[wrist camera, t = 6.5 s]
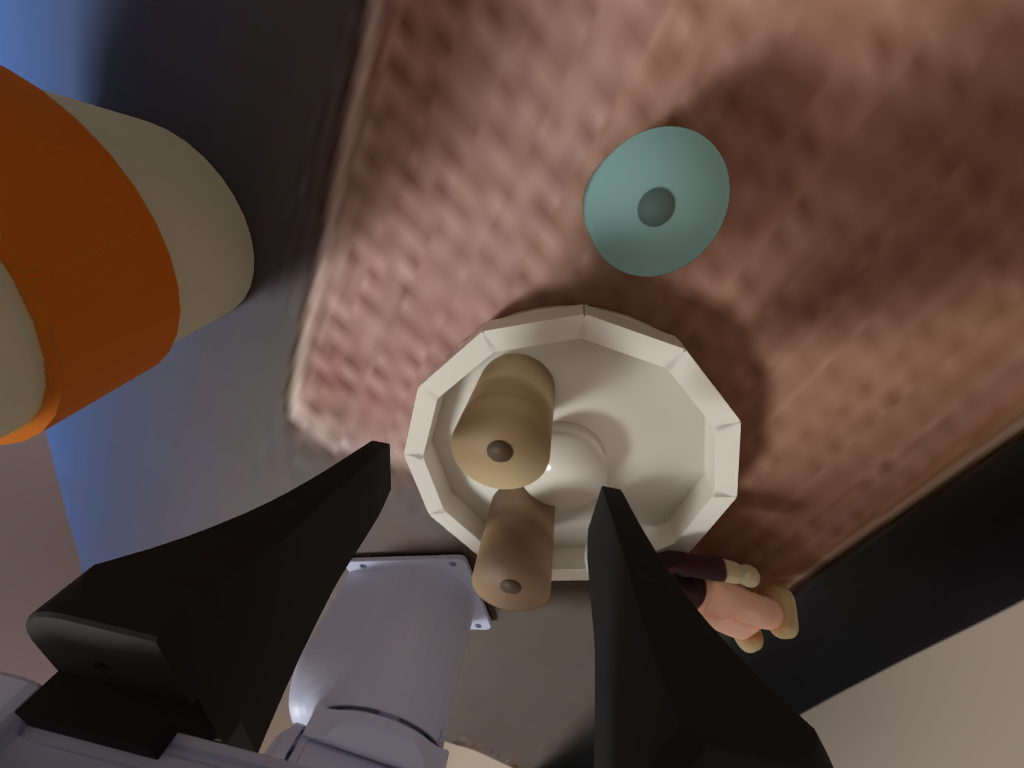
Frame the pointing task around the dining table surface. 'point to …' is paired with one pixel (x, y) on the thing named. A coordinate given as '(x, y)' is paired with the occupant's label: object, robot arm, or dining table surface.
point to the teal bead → (657, 201)
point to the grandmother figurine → (732, 597)
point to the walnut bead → (516, 552)
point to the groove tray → (589, 430)
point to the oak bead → (507, 424)
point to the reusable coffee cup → (102, 252)
